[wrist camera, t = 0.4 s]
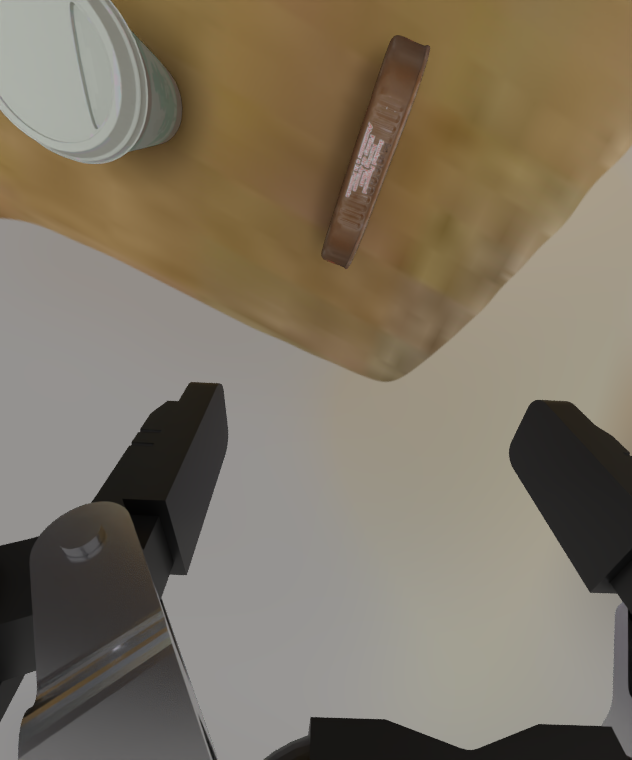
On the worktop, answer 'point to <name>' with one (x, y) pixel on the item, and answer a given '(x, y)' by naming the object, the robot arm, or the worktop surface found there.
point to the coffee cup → (83, 80)
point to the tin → (375, 147)
